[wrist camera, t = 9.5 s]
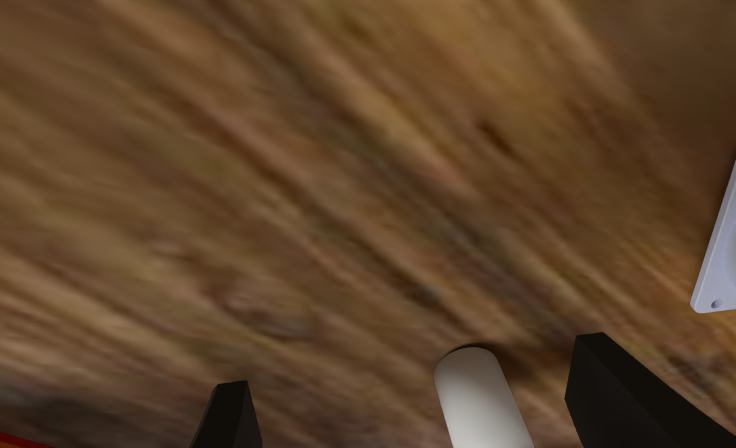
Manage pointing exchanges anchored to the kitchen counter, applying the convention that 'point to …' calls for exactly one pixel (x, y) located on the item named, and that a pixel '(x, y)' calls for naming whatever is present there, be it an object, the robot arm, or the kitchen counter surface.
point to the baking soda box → (18, 442)
